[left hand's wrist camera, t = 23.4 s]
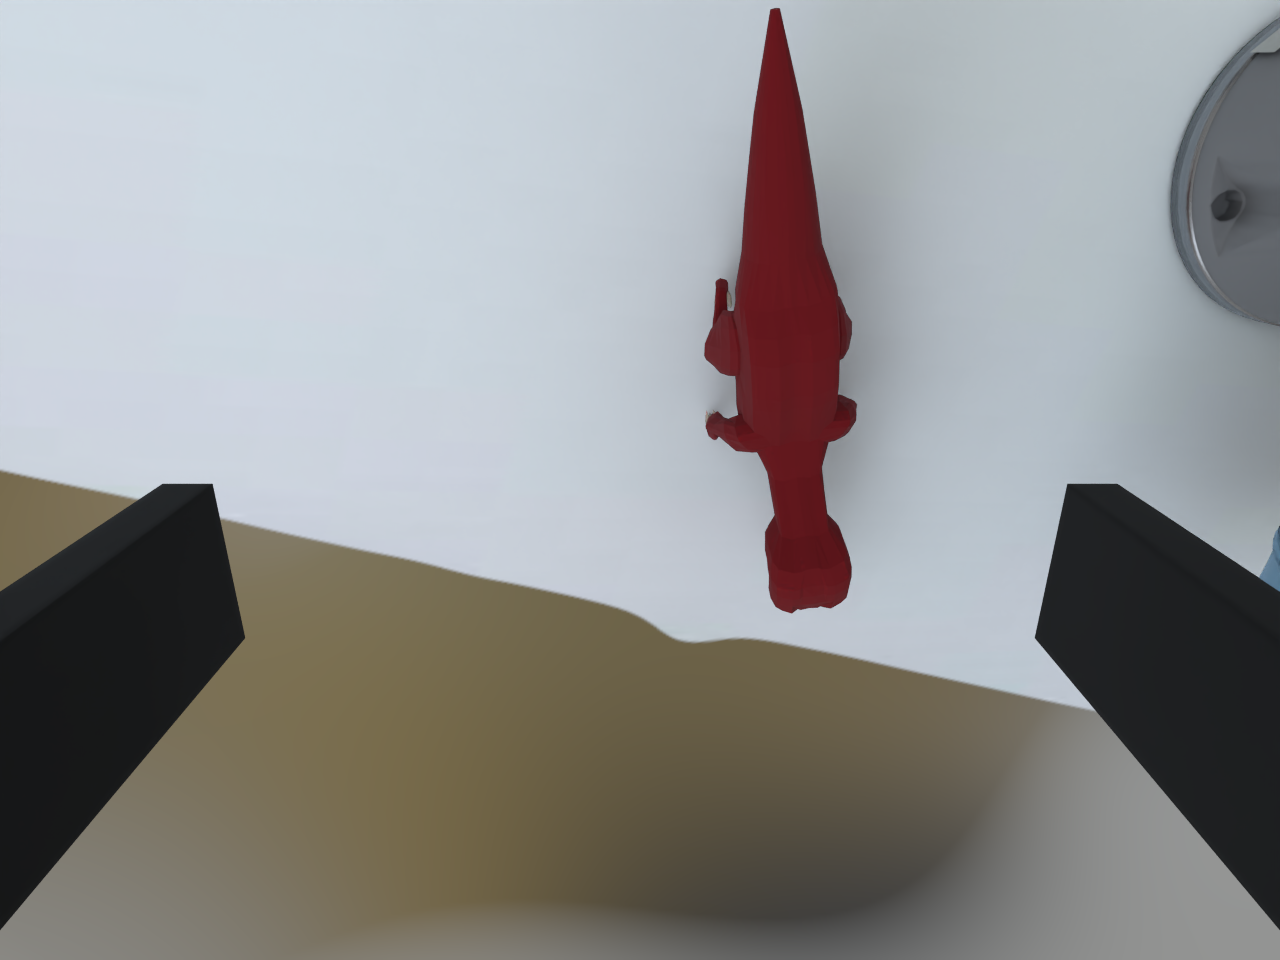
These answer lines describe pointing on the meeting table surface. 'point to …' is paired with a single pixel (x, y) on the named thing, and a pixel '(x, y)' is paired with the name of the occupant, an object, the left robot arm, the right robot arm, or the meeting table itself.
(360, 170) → the meeting table surface
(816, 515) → the toy
